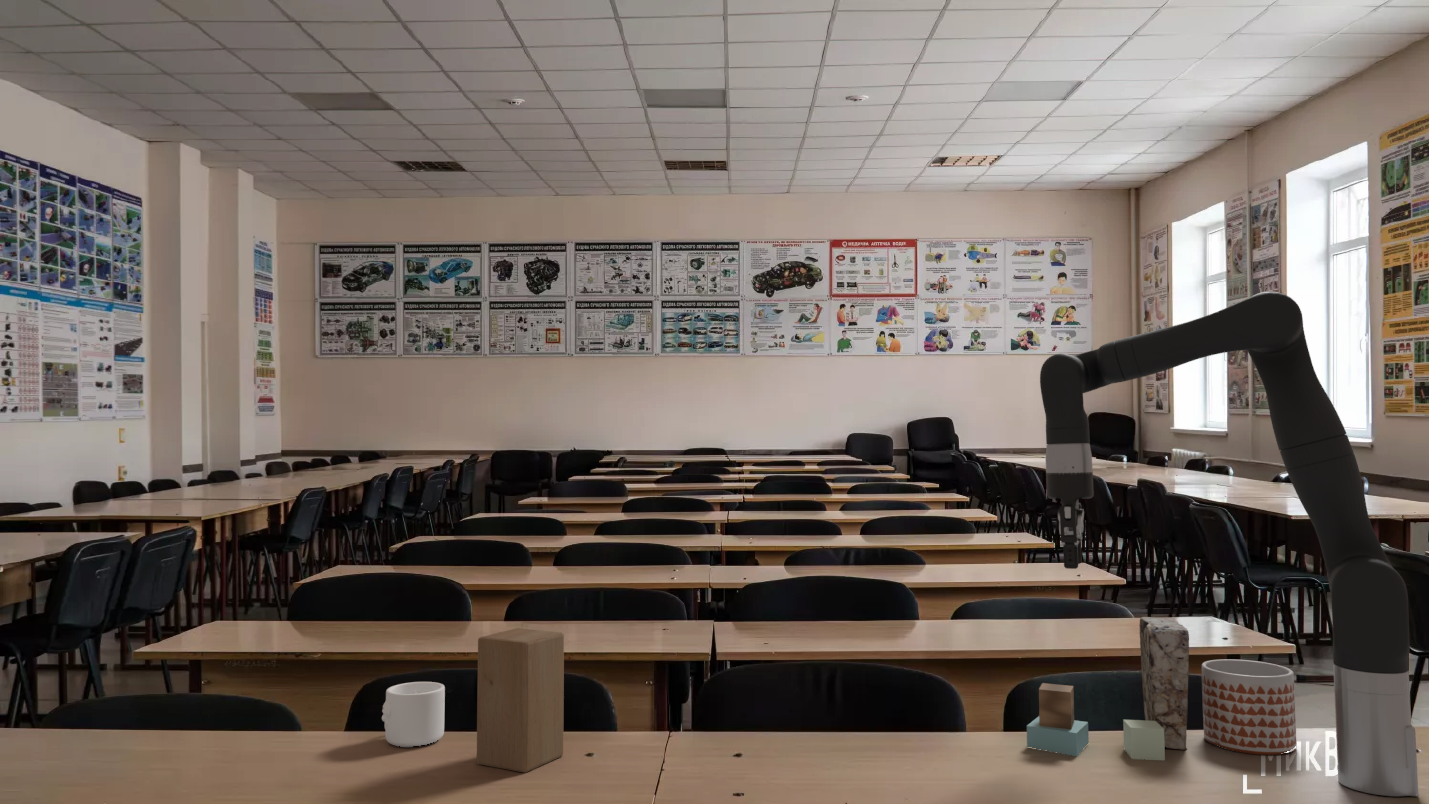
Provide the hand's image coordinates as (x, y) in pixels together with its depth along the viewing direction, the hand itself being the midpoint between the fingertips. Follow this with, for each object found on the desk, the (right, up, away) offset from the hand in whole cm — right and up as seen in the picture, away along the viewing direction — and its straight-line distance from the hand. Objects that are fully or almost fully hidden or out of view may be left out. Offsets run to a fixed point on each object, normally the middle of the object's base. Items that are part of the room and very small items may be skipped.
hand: (1073, 565), depth 164 cm
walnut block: (-4, -26, -2) cm, 27 cm away
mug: (-113, -31, +3) cm, 117 cm away
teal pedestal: (-4, -30, -3) cm, 30 cm away
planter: (+29, -30, -2) cm, 42 cm away
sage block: (+9, -30, -8) cm, 32 cm away
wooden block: (-92, -30, -9) cm, 97 cm away
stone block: (+16, -30, +1) cm, 34 cm away
